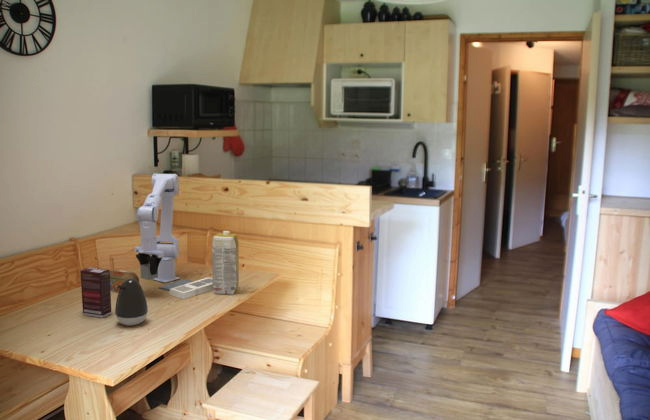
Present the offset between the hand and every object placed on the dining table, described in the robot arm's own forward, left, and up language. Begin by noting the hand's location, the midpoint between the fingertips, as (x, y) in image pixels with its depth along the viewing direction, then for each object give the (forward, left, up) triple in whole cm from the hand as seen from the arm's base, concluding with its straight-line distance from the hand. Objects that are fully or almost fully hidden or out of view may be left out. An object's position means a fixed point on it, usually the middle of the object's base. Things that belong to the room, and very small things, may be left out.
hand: (149, 273), depth 215 cm
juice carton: (+19, +21, -9) cm, 30 cm away
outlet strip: (+9, +17, -9) cm, 21 cm away
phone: (-2, +15, -10) cm, 18 cm away
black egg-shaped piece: (+18, -22, -9) cm, 30 cm away
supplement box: (+2, -24, -9) cm, 26 cm away
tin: (-12, -3, -9) cm, 16 cm away
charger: (0, 0, -2) cm, 2 cm away
